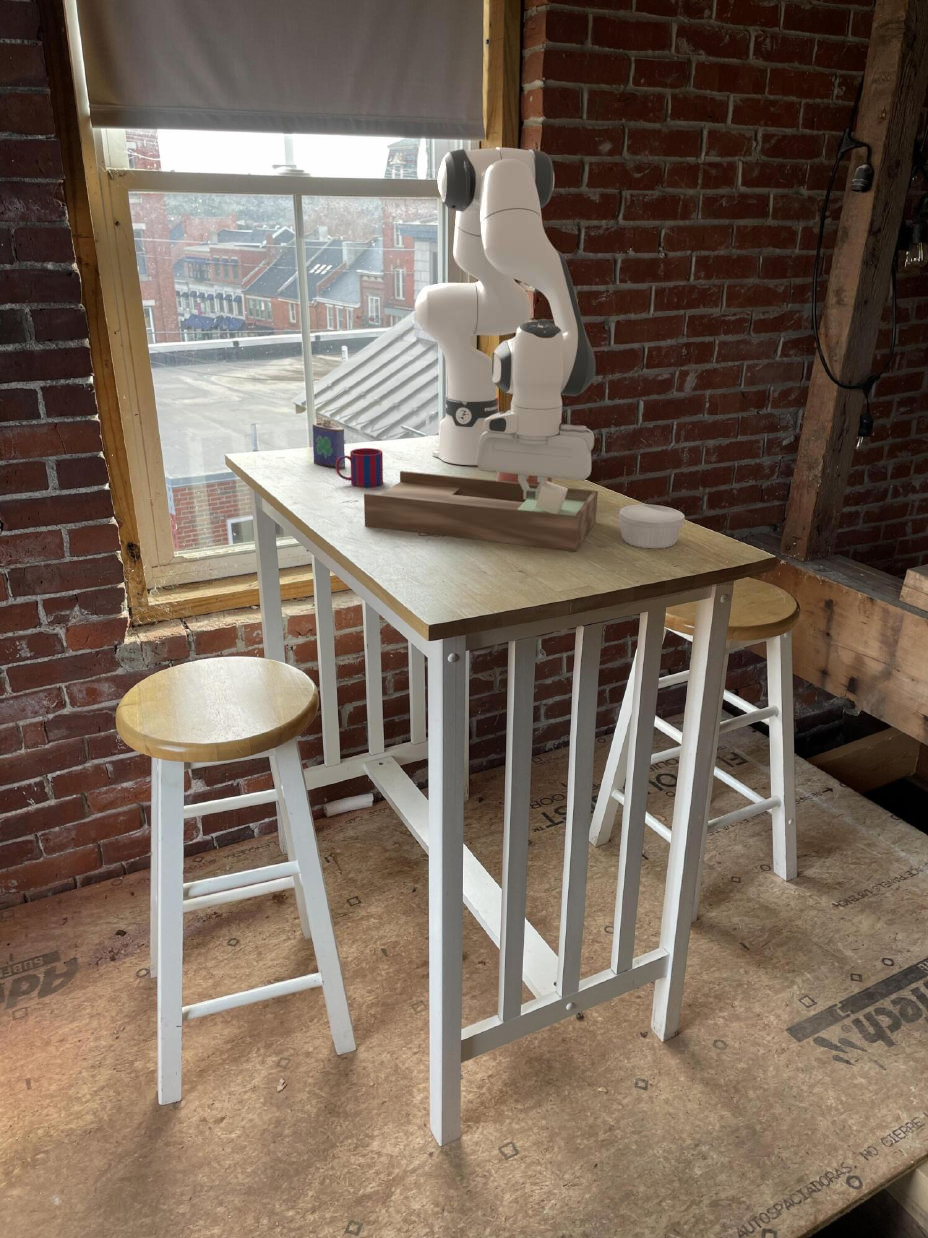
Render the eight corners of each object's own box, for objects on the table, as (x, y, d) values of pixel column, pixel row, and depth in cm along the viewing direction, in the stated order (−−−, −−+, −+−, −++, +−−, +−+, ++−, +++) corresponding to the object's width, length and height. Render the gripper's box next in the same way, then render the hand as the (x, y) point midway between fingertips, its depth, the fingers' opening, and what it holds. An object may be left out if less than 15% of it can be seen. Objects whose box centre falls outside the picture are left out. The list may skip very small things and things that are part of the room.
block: (540, 501, 164) (547, 481, 162) (561, 508, 163) (568, 488, 161) (535, 507, 160) (541, 486, 158) (556, 515, 160) (562, 494, 158)
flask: (347, 467, 204) (346, 419, 200) (338, 470, 202) (336, 421, 198) (319, 461, 209) (316, 414, 205) (309, 463, 207) (307, 416, 203)
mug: (386, 486, 190) (385, 454, 187) (338, 489, 187) (337, 456, 185) (379, 478, 196) (378, 447, 193) (333, 481, 193) (331, 449, 190)
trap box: (401, 500, 181) (401, 470, 178) (595, 521, 170) (597, 490, 167) (364, 525, 165) (363, 493, 162) (575, 551, 154) (578, 517, 152)
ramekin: (687, 537, 163) (690, 508, 161) (674, 555, 153) (677, 525, 151) (626, 528, 167) (628, 500, 165) (609, 545, 157) (612, 516, 155)
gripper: (598, 423, 157) (592, 500, 162) (485, 414, 162) (483, 489, 168) (591, 429, 151) (585, 510, 156) (474, 420, 157) (472, 497, 162)
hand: (531, 499), depth 162 cm, fingers closed
